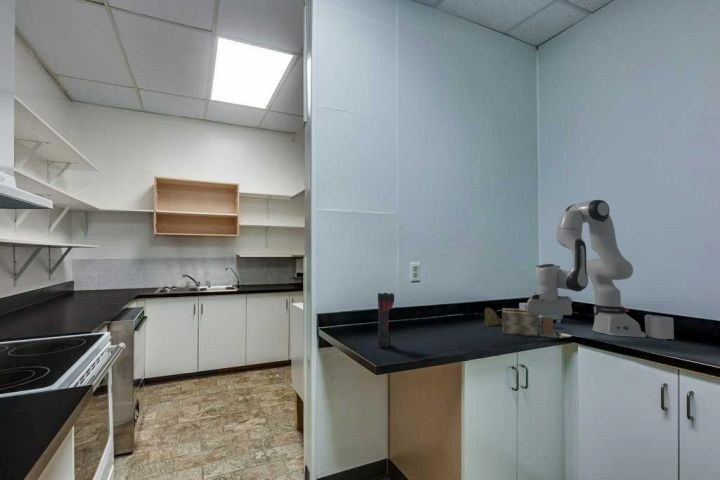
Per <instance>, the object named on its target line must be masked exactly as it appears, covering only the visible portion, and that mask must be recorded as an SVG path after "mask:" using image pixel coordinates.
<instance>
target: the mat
mask: <svg viewBox="0 0 720 480" xmlns="http://www.w3.org/2000/svg"><path fill="white" fill-rule="evenodd" d="M544 336H545V337H544ZM538 337H544V338H554V339H556V338H557V339H558V338H559V337H558V335H557V333H556V332H555V331H553V335H548V334H543V333H542V330H538Z"/></svg>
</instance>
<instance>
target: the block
mask: <svg viewBox="0 0 720 480" xmlns="http://www.w3.org/2000/svg"><path fill="white" fill-rule="evenodd" d="M541 331H542V333H543V334H548V335H553V332H554V321H553V318H552V317H542V323H541Z"/></svg>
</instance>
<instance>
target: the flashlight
mask: <svg viewBox="0 0 720 480" xmlns="http://www.w3.org/2000/svg"><path fill="white" fill-rule="evenodd" d="M394 302H395V294H394V293H393V292H391V293H388V292H383V293H381V292H378V293H377V308H378V318H377V319H378V321H377V323H378V326H377V328H378V329H377V330H378V332H377V335H376V346H377V348H383V347H384V348H388V347H391V345H392V336H391V334H390V333H389V314H390V313H389V312H390V310H391V309H392V308H393V305H394Z"/></svg>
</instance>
